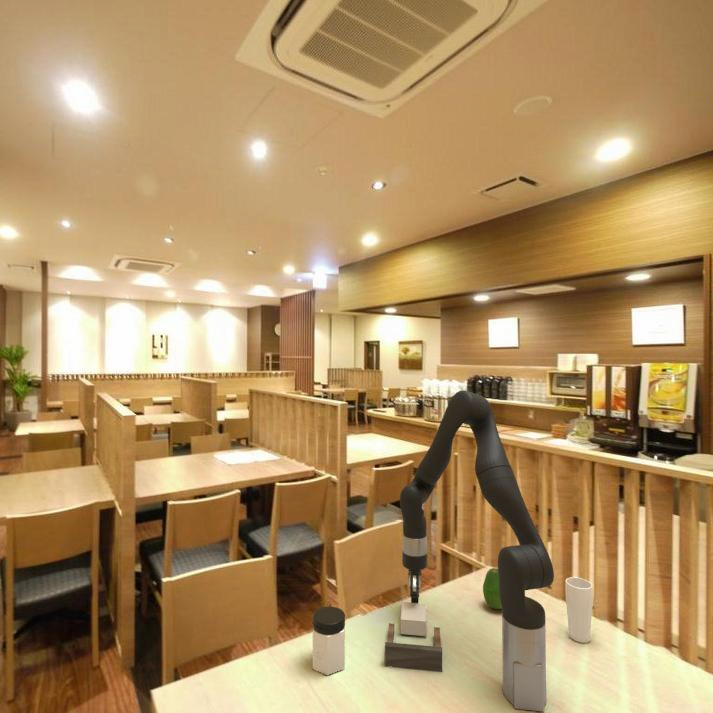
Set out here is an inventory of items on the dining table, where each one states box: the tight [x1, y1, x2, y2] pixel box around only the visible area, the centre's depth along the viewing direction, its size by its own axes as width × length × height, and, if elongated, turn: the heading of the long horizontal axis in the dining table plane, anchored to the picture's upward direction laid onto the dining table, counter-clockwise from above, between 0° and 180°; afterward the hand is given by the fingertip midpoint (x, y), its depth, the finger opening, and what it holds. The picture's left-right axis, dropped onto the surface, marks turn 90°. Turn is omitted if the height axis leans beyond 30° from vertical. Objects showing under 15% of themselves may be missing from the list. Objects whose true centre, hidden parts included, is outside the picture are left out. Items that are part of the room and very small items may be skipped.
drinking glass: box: [564, 576, 594, 644], centre depth 120 cm, size 7×7×15 cm
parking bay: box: [384, 623, 443, 673], centre depth 114 cm, size 14×14×5 cm
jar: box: [312, 606, 346, 676], centre depth 109 cm, size 9×8×12 cm
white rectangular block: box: [400, 601, 427, 637], centre depth 124 cm, size 9×7×5 cm
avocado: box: [482, 567, 502, 610], centre depth 134 cm, size 8×8×12 cm
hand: (414, 607), depth 131 cm, fingers closed
